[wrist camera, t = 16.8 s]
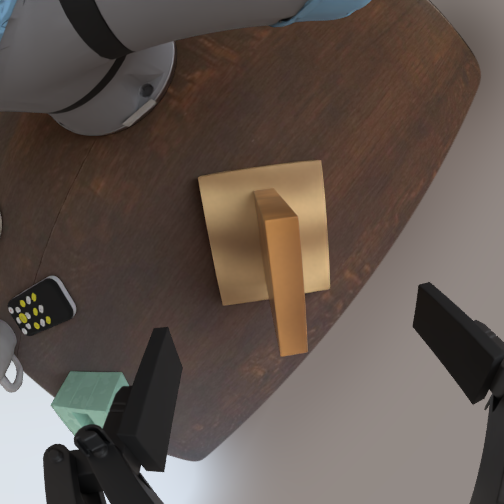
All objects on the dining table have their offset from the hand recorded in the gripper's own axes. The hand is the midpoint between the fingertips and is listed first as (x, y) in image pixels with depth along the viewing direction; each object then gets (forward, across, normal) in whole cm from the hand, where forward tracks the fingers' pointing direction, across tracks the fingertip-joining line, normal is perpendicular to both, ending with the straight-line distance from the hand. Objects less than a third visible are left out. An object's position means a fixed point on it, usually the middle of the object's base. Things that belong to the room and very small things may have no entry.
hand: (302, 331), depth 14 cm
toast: (+16, 0, -1) cm, 17 cm away
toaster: (+18, -28, -24) cm, 41 cm away
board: (+18, 0, 0) cm, 18 cm away
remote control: (+18, -32, -5) cm, 37 cm away
